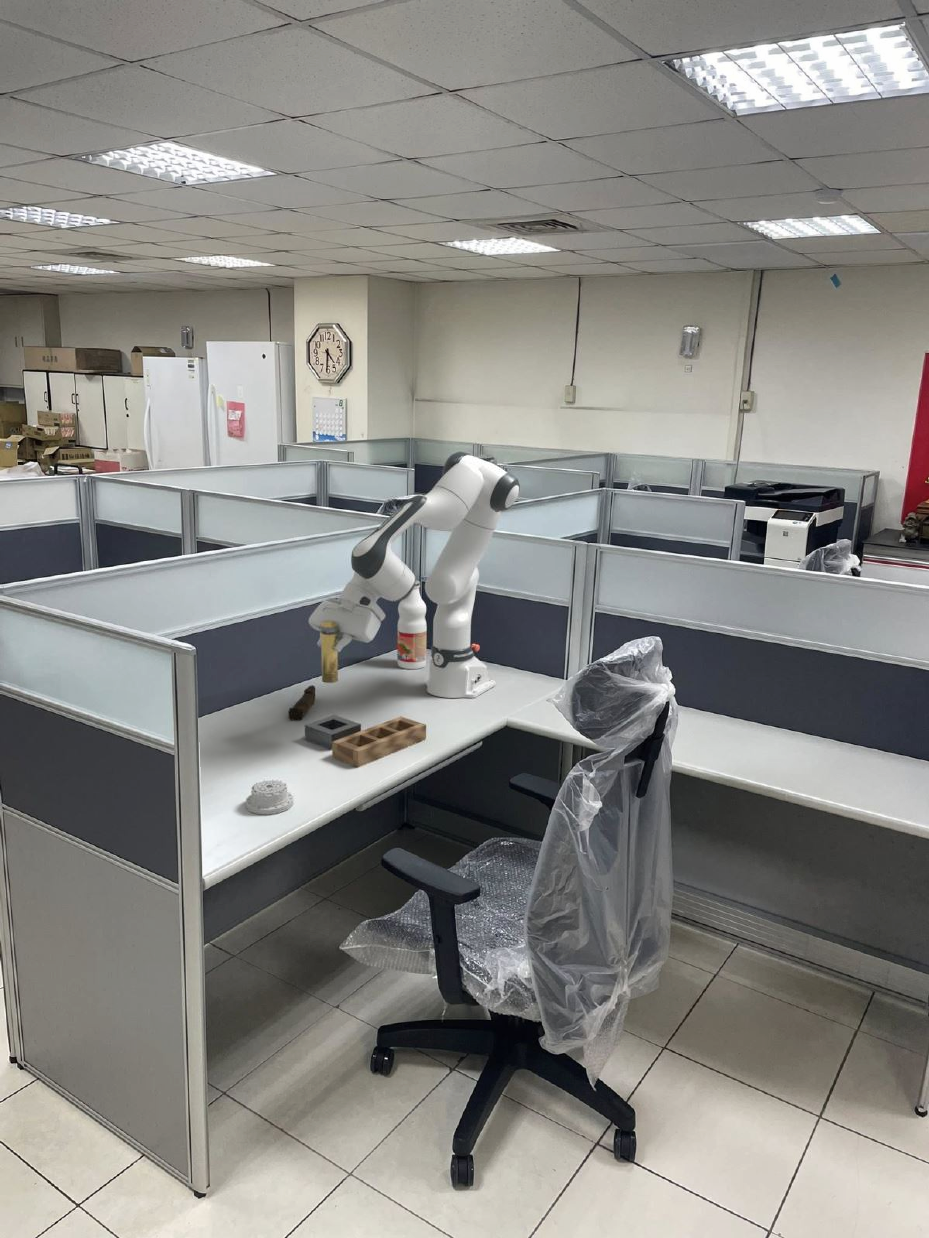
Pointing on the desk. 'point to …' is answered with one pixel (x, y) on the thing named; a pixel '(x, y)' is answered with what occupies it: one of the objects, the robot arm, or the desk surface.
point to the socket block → (330, 730)
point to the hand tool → (302, 704)
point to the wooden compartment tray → (378, 741)
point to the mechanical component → (269, 798)
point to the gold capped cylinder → (329, 651)
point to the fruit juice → (412, 631)
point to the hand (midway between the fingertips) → (327, 648)
